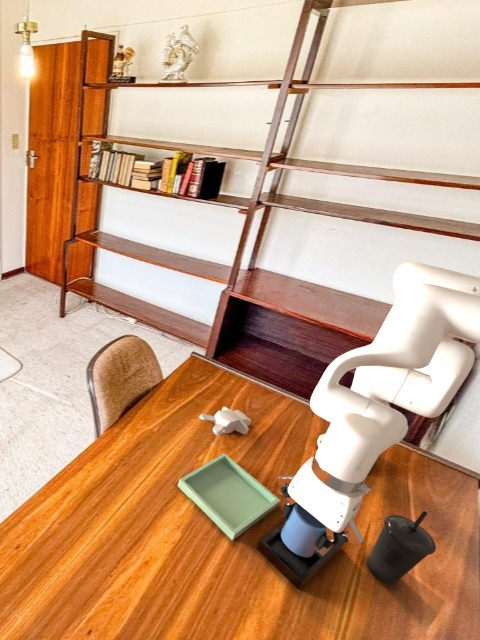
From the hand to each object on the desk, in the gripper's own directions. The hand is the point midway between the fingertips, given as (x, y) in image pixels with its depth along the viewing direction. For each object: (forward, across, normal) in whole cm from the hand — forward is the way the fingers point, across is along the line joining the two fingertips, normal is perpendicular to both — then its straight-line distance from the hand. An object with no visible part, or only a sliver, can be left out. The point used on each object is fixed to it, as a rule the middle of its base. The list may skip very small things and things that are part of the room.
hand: (304, 529), depth 82 cm
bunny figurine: (+11, +31, -20) cm, 39 cm away
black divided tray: (+10, 0, -4) cm, 11 cm away
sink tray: (+10, +16, 0) cm, 19 cm away
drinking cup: (+10, -11, -14) cm, 21 cm away
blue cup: (+4, 0, 0) cm, 4 cm away
